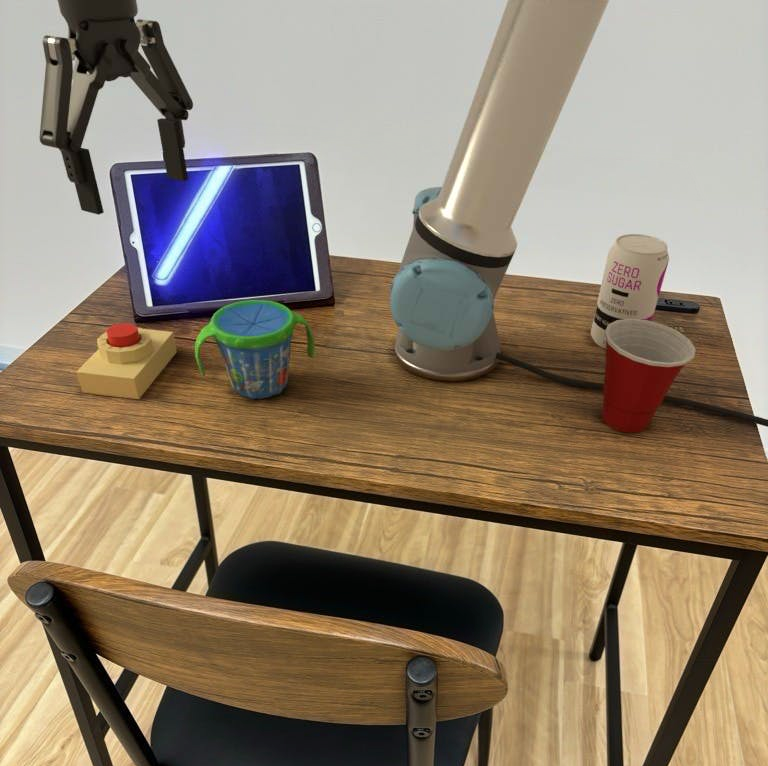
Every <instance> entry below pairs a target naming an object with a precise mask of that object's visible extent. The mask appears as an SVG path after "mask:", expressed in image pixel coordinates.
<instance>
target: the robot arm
mask: <svg viewBox="0 0 768 766" xmlns="http://www.w3.org/2000/svg"><path fill="white" fill-rule="evenodd" d="M609 1H610V0H507V1H506V5H505V8H504V10H503V13H502V15H501V19H500V22H499V25H498V27H497V30H496V33H495V37H494V39H493V41H492V44H491V47H490V50H489V53H488V56H487V59H486V62H485V64H484V67H483V70H482V73H481V76H480V79H479V81H478V84H477V87H476V90H475V93H474V96H473V99H472V101H471V104H470V107H469V109H468V113H467V115H466V118H465V120H464V124H463V127H462V129H461V132H460V135H459V138H458V141H457V144H456V147H455V149H454V152H453V155H452V157H451V160H450V163H449V166H448V169H447V171H446V174H445V176H444V177H445V178H444V181H443V183H442V186H435V187H427V188H425V189H422V190H420V191H419V192H418V193H417V194H416V195H415V198H414V204H413V209H412V210H411V213H412V215H413V224H412V230H411V234H410V236H409V239H408V242H407V245H406V248H405V250H404V254H403V257H402V260H401V262H400V265H399V269H398V271H397V273H396V275H395V276H394V278H393V279H392V281H391V284H390V291H389V295H390V298H389V308H390V312H391V316H392V319H393V321H394V322H395V324H396V326H397V327H398V330H397V334H396V336H395V342H394V357H395V360H396V361H397V363H398V364H399V365H400V366H401V367H402V368H403V369H405V370H406V371H408V372H410V373H412V374H414V375H417V376H419V377H422V378H425V379H428V380H433V381H434V380H435V381H439V382H464V381H470V380H474V379H479V378H481V377H484V376H486V375H488V374H489V373H491V372H492V371H493V370H495V368H496V367H498V366H497V365H498V364H499V361H502V362H504V363H507V364H510V365H512V366H514V367H515V366H516V367H518V368H521V369H523V370H525V371H528V372H530V373H532V374H535V375H537V376H539V377H542V378H543V379H546V380H550V381H553V382H557V383H560V384H564V385H570V386H575V387H581V388H587V389H593V390H599V391H603V389H604V382H596V381H589V380H583V379H577V378H571V377H567V376H562V375H559V374H556V373H552V372H549V371H546V370H545V369H542V368H540V367H537V366H535V365H533V364H531V363H528V362H525V361H522V360H520V359H517V358H515V357H512V356H509V355H507V354H504V353H501V341H500V337H499V336H500V335H499V333H498V327H497V322H496V317H495V312H494V308H495V298H496V296H497V294H498V291H499V289H500V287H501V284H502V282H503V280H504V278H505V276H506V273H507V271H508V268H509V266H510V264H511V262H512V259H513V257H514V256H515V255H514V254H515V253H516V250H517V248H518V242H517V239H516V236H515V234H514V230H513V229H512V225H513V223H514V221H515V219H516V216H517V214H518V212H519V209H520V207H521V204H522V202H523V200H524V198H525V195H526V193H527V191H528V188H529V186H530V184H531V181H532V180H533V177H534V175H535V172H536V170H537V168H538V166H539V164H540V161H541V158H542V157H543V154H544V151H545V150H546V147H547V145H548V142H549V140H550V138H551V136H552V134H553V131H554V129H555V126H556V124H557V121H558V120H559V117H560V115H561V112H562V110H563V107H564V106H565V103H566V101H567V98H568V97H569V94H570V91H571V89H572V87H573V85H574V83H575V80H576V78H577V75H578V73H579V71H580V68H581V66H582V64H583V62H584V59H585V57H586V56H587V55H586V54H587V52H588V50H589V48H590V46H591V44H592V41H593V38H594V36H595V34H596V32H597V29H598V27H599V25H600V22H601V20H602V19H603V15H604V14H605V11H606V9H607V6H608V4H609ZM57 3H58V7H59V12H60V14H61V17H63V19H64V20H65V22H66V24H67V27H68V29H67V30H68V32H67V33H68V34H67V37H63V36H53V35H48V34H47V35H44V36H43V37H42V46H43V52H44V58H45V71H44V83H43V93H42V103H41V104H42V105H41V116H40V128H39V142H40V143H41V145H42V146H46V147H51V148H54V149H58V150H59V151H60V153H61V157H62V161H63V165H64V168H65V171H66V176H67V178H68V180H69V182H71V183H74V187H75V190H76V195H77V198H78V202H79V207H80V210H81V211H83V212H87V213H89V214H90V213H91V214H95V215H102V214H104V213H105V212H104V208H103V203H102V199H101V195H100V191H99V185H98V183H97V182H98V181H97V178H96V174H95V173H96V172H95V169H94V166H93V162H92V161H93V160H92V158H91V157H92V156H91V153H90V149H89V148H84V147H82V146H83V142H84V139H85V135H86V133H87V129H88V126H89V122H90V120H91V117H92V113H93V110H94V107H95V103H96V101H97V98H98V94H99V91H100V90H101V89H103V88H104V86H105V83H106V82H114V81H115V80H117V79H118V78H130V79H131V80H132V81H133V83H134V84H135V85H136V86H137V87H138V88H139V90H140V91H141V92H142V93H143V94H144V96H146V98H147V99H148V100H149V102H150V103H151V104H152V106H154V107H155V108H156V110H157V111H158V112H159V113H160V114H161V115H162V116H163V117H161V118H158V119H156V121H157V127H158V133H159V138H160V143H161V150H162V154H163V155H162V156H163V161H164V166H165V167H164V168H165V172H166V177H167V178H168V179H171V180H175V181H180V182H186V181H189V177H188V176H189V175H188V170H187V169H188V168H187V164H186V156H185V152H184V148H186V139H185V134H184V133H185V131H184V127H183V121H188V119H189V111H191V110H193V107H194V102H193V99H192V97H191V96H190V95H191V94H189V91H188V90H187V87H186V85H185V83H184V81H183V79H182V77H181V75H180V73H179V71H178V69H177V67H176V65H175V63H174V60H173V59H172V57H171V54H170V53H169V51H168V49H167V47H166V45H165V42H164V41H165V40H164V37H163V33H162V29H161V25H160V23H159V22H158V21H156V20H150V19H149V20H148V19H141V18H138V19H137V20H136V21H135V17H136V16H137V15H138V13H139V7H138V3H137V0H57ZM140 47H141V49H142V51H143V53H144V55H145V57H146V58H145V57H144V56H143V55H142V54H141V52H140V51H139V48H140ZM73 61H75V63H74V65H73ZM151 69H152V70H151ZM662 402H665V403H669V404H674V405H679V406H683V407H689V408H693V409H697V410H702V411H705V412H710V413H714V414H718V415H722V416H725V417H729V418H734V419H738V420H741V421H745V422H749V423H752V424H756V425H760V426H763V427H767V428H768V418H764V417H760V416H757V415H752V414H749V413H745V412H741V411H739V410H738V411H737V410H733V409H729V408H725V407H723V406H718V405H713V404H710V403H706V402H700V401H697V400H692V399H687V398H682V397H679V396H678V397H677V396H673V395H667V394H666V395H665V397H664V399H663V401H662ZM755 422H756V423H755Z"/></svg>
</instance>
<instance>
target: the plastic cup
mask: <svg viewBox="0 0 768 766" xmlns="http://www.w3.org/2000/svg"><path fill="white" fill-rule="evenodd" d="M605 338H606V343H607V344H606V349H605V366H604V378H603V384H604V389H603V390H602V396H603V399H602V400H603V401H602V419H603V421H604V423H605V425H607V426H608V427H609V428H611V429H613V430H615V431H618V432H622V433H626V434H636V433H640V432H642V431H644V430H646V429H647V427H648V425H649V424H650V423H651V421H652V419H653V417H654V415H655V414H656V412H657V410H658V409H659V408H660V406H661V405H662V403H663V402H664V401H663V399H664V397H665V395H667V394H668V392H669V390H670V389H671V386H672V384H673V383H674V381H675V379H676V377H677V376H678V375H679V374H680V372H681V370H682V369H684V367H685V366H686V365H687V364H688V363H689V362H691V361H693V359H694V358H695V355H696V351H697V349H696V347H695V346H694V344H693V342H692V340H691V339H689V338H688V337H687V336H686V335H684V334H683V333H681V332H680V331H679V330H676V329H674V328H672V327H670V326H667V325H666V324H662V323H659V322H655V321H653V320H652V321H648V320H639V319H623V320H616V321H615V322H613V323H611V324H609V325H608V326H607V328H606V331H605Z"/></svg>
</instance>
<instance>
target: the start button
mask: <svg viewBox="0 0 768 766" xmlns="http://www.w3.org/2000/svg"><path fill="white" fill-rule="evenodd" d="M138 328H139V327H138V326H137V325H136V324H135V323H131V322H121V323H116V324H113V325H111V326H109V327H108V328H107V329H106V332H107V336H108V340H109V344H110V345H111V346H112V347H120V348H122V347H129V346H132V345H135V344H137V343H139V341H140V337H139V333H138Z"/></svg>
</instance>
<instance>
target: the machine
mask: <svg viewBox="0 0 768 766" xmlns="http://www.w3.org/2000/svg"><path fill="white" fill-rule="evenodd" d="M137 328H138V333H139V337H140V341H139V343H137V344H135V345H132V346H129V347H122V348H120V347H112V346H111V345H110V344H109V340H108V336H107V331H105V332H104V333H102V334H101V335H100V336H99V337H98V338H97V340H96V342H97V348H98V349H97V350H96V351H95V352H94V353H93V354H91V356H90V357H89V358H88V359H87V360H86V361H85V363H83V364H82V366H80V367H79V368H78V370H76V376H77V378H78V382H79V385H80V388H81V393H83V394H92V395H100V396H108V397H109V396H110V397H117V398H125V399H134V400H140V399H141V398H142V396H143V395H144V394H145V392H146V391H147V390H148V388H149V387H150V386H151V385H152V383H153V382H154V381H155V380H156V378H157V377H158V376H159V375H160V374H161V373H162V371H163V370H164V369H165V367H166V366H167V365H168V364H169V362H170V361H171V360H172V359H173V358H174V356H176V354H177V352H178V351H177V346H176V339H175V334H174V332H173V331H169V330H159V329H150V328H141V327H137Z"/></svg>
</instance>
